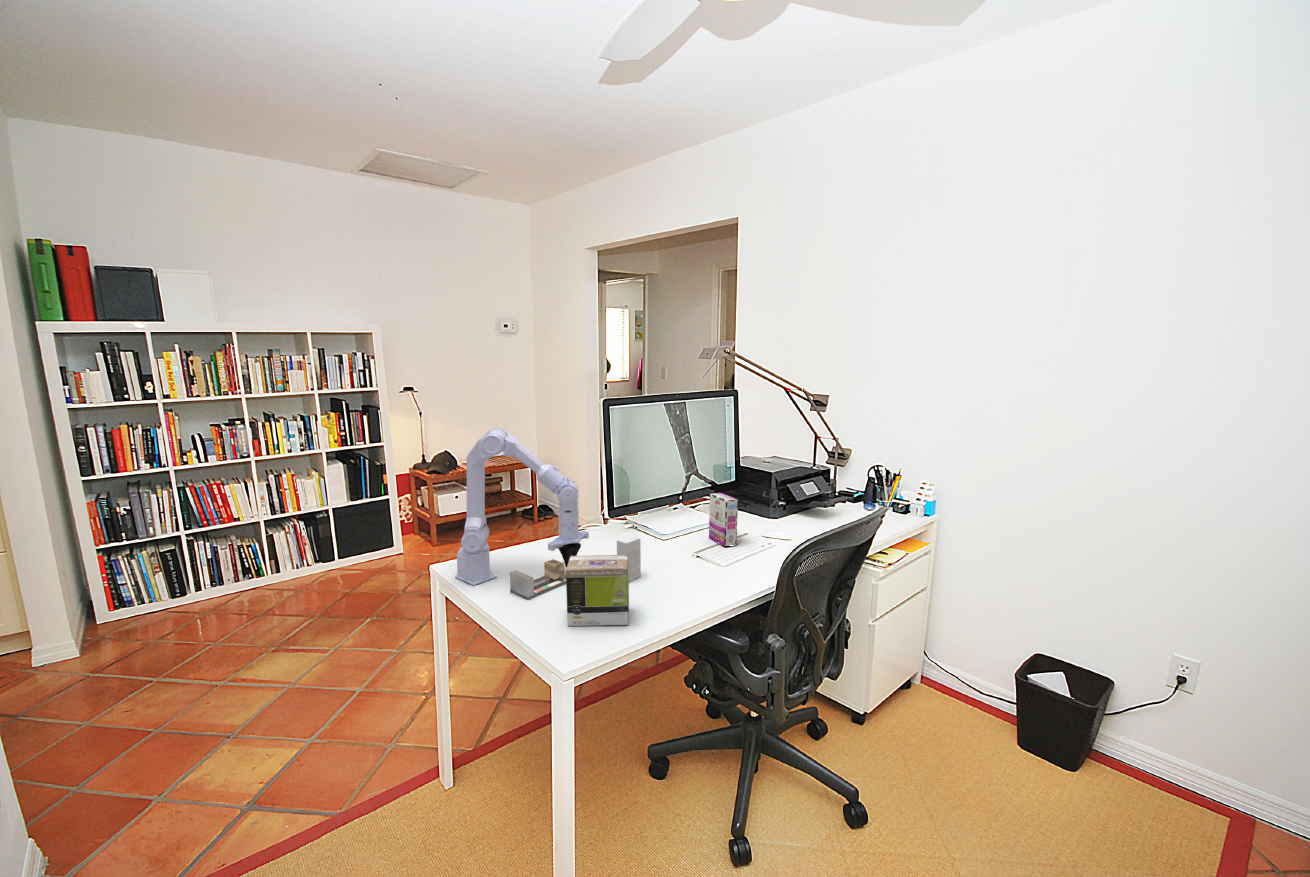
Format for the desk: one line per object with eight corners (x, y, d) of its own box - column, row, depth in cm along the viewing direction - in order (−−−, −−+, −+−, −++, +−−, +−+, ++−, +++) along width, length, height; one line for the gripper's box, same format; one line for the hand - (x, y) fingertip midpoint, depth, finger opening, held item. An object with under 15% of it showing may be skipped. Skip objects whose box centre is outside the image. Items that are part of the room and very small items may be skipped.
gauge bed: (551, 575, 168) (551, 556, 167) (569, 582, 163) (569, 562, 162) (510, 592, 156) (509, 572, 155) (528, 600, 151) (527, 579, 150)
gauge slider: (554, 573, 166) (553, 558, 165) (568, 578, 162) (568, 563, 162) (544, 576, 163) (544, 562, 163) (559, 582, 160) (558, 567, 159)
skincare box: (630, 573, 170) (630, 534, 168) (641, 576, 167) (641, 537, 165) (616, 579, 165) (616, 539, 163) (627, 583, 163) (627, 543, 161)
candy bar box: (737, 546, 193) (738, 499, 191) (724, 548, 191) (726, 501, 189) (720, 536, 203) (721, 491, 201) (708, 538, 201) (709, 493, 199)
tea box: (629, 607, 148) (629, 553, 145) (628, 626, 138) (628, 568, 135) (571, 608, 147) (570, 553, 145) (566, 627, 137) (565, 569, 135)
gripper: (559, 532, 157) (560, 578, 160) (596, 519, 169) (596, 563, 171) (542, 526, 162) (543, 572, 164) (579, 515, 173) (579, 557, 175)
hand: (569, 567), depth 168 cm, fingers closed
